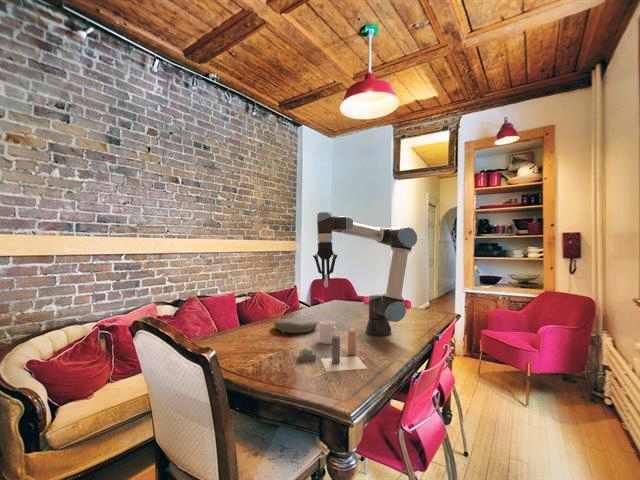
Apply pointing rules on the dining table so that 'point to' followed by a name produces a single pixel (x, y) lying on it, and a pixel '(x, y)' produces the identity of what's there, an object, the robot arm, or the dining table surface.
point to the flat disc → (296, 325)
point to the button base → (307, 356)
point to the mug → (327, 331)
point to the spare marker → (351, 342)
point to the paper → (343, 364)
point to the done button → (307, 351)
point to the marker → (335, 349)
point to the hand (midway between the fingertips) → (326, 286)
